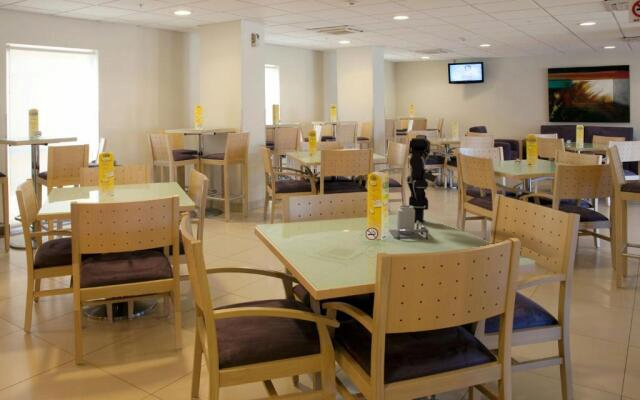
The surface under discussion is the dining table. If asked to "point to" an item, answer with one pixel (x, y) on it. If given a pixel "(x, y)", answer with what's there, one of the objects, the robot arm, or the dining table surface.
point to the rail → (415, 230)
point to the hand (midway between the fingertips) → (416, 200)
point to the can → (405, 218)
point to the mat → (413, 235)
